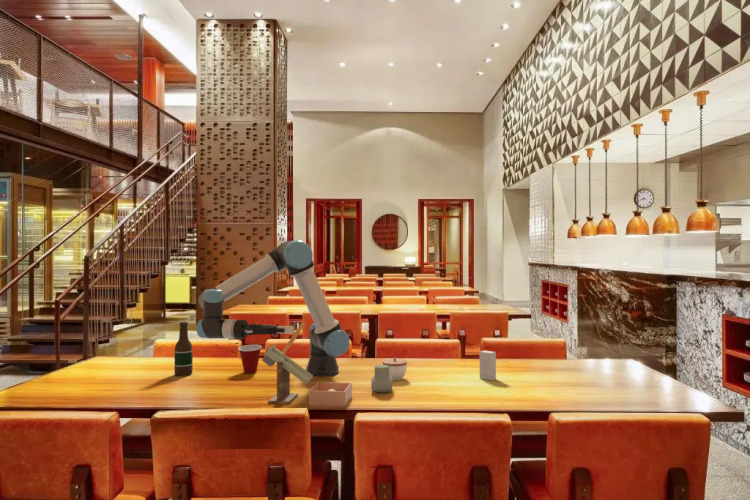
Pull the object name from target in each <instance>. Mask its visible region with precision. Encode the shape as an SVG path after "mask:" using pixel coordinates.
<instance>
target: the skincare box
mask: <svg viewBox="0 0 750 500" xmlns="http://www.w3.org/2000/svg"><path fill="white" fill-rule="evenodd" d="M478 354H479V379H480V380H485V381H494V380H496V379H497V357H496V356H497V353H496V351H492V350H491V351H490V350H482V351H479V353H478Z"/></svg>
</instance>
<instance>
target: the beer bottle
mask: <svg viewBox="0 0 750 500" xmlns="http://www.w3.org/2000/svg"><path fill="white" fill-rule="evenodd" d="M188 325H189V323H188V321H181V322H179V325H178V326H179V335H178V336H179V338H178V341H177V342H176V344H175V346H174V376H176V377H187V376H191V375H192V374H193V361H194V360H193V357H194V356H193V350H194V349H193V345H192V342H191V340H190V339H189V329H188Z"/></svg>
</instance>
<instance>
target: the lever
mask: <svg viewBox="0 0 750 500" xmlns="http://www.w3.org/2000/svg"><path fill="white" fill-rule="evenodd" d="M305 326H306V324H305V323H303V322H301V323H300V324H299V326H298V327H297V329H296V330H295V331H294V334H292V336H291V337H290V339H289V341H288V342H287V343H286V345H284V346H285V347H284V348H283V349H282V351H281V350H279V349H278V348H276V346H277V345H276V344H272V345H270V346H268V347H267V348H266V350H265V352H264V357H263V358H262V359H261V361H262V362H263V363H265V364H266V365H267V366H269V367H272V366H274V365H275V363H276V364H277V362H283V368H284V369H286V370H287V371H288V372H290V375H292V376H294V377H295V378H296V379H298V381H301V382H302V383H303V384H304V385H307V384H308V383H310V381H311V380H312V379H313V377H314V375H311V374H310V373H309V372H307V371H306V368H305V369H304V368H303V367H302V366H300V365H299V364H298V363H297V362H295V361H294V360H292V359H291V358H289V357H290V356H289V357H288V356H287V355H286V353H287V352H288V351H289V349H290V347H291V346H292V344H294V341H296V339H297V337H298V336H299V334H300V333H301V331H302V330H303V328H304V327H305Z"/></svg>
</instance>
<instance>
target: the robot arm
mask: <svg viewBox="0 0 750 500" xmlns="http://www.w3.org/2000/svg"><path fill="white" fill-rule="evenodd" d="M313 256H314V255H313V250H312V248H311V246H310V245H309V244H308V243H306V242H305V241H302V240H298V239H295V240H287V241H284V242H282V243H280V244H279V245H277V246H276V247H275V248H273V249H272V250H271V251H268V252H267V253H266V254H265V255H264V257H263V258H261V259H260V260H258V261H256V262H255V263H253V264H251V265H250V266H248V267H247V268H245V269H242V270H241V271H240V272H238V273H236V274H235V275H233V276H231V277H229V278H228V279H226V280H225V281H223V282H221V283H220V284H218V285H216V286H215V287H213V288H211V289H205V290H203V292H202V293H201V294H200V295H199V297H198V300H197V301H198V305H199V307H200V308H201V309H202V311H203V312H202V315H203V316H202V318H201V319H199V321H198V322H197V325H196V330H195V331H196V335H197V336H198V337H199V338H201V339H228V341H231V339H236V340H238V339H239V340H245V339H246V338H247V337H248V336H254V335H260V336H261V335H274V337H275V336H277V334H278V335H279V334H285V335H291V334H292V335H293V334H294V333H295V326H291V325H289V326H288V325H279V323H276V325H275V324H274V325H273V324H263V323H262V324H261V323H258V324H256V323H251V324H249V322H248V320H246V319H235V318H233V319H224V317H223V316H224V313H223V312H224V311H223V310H224V309H223V308H224V303H225V302H226V301H229V300H230V299H231V298H233V297H235V296H237V295H238V294H240V293H241V292H243V291H244V290H246V289H248V288H250V287H251V286H253V285H255V284H256V283H259V281H261V280H263V279H264V278H267V276H270V275H272V274H273V273H279V272H281V271H282V270H284V269H286V272H287V273H288V276H290V277H291V278H293V279H294V280H295V282H296V285H297V287H298V289H299V291H300V293H301V296H302V299H303V301H304V302H305V305H306V307H307V310H308V312H309V314H310V316H311V318H312V321H313V323H312V324H310V326H309V359H308V360H307V361H308V362H307V365H306V368H305V370H306V371H307V372H309V373H310V374H311V375H313V377H314V376H315V377H325V376H326V377H327V376H328V377H329V376H333V375H336V374H338V373H339V372H340V371H339V370H340V369H339V368H340V367H339V365H338V361H337V358H336V357H341V356H342V355H344V354H345V353H346V352H347V350H348V349H349V347H350V341H351V340H350V337H349V334H347V332H346V331H345V330H343V328H342V326H341V323H340V321H339V320H338V319H335V318H334V316H333V313H332V311H331V309H330V305H329V304H328V302H327V300H326V296H325V294H324V292H323V290H322V288H321V285H320V283H319V281H318V279H317V277H316V273H315V272H314V271H315V270H314V268H315V266H316V265H315V262H314V260H313Z"/></svg>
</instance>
